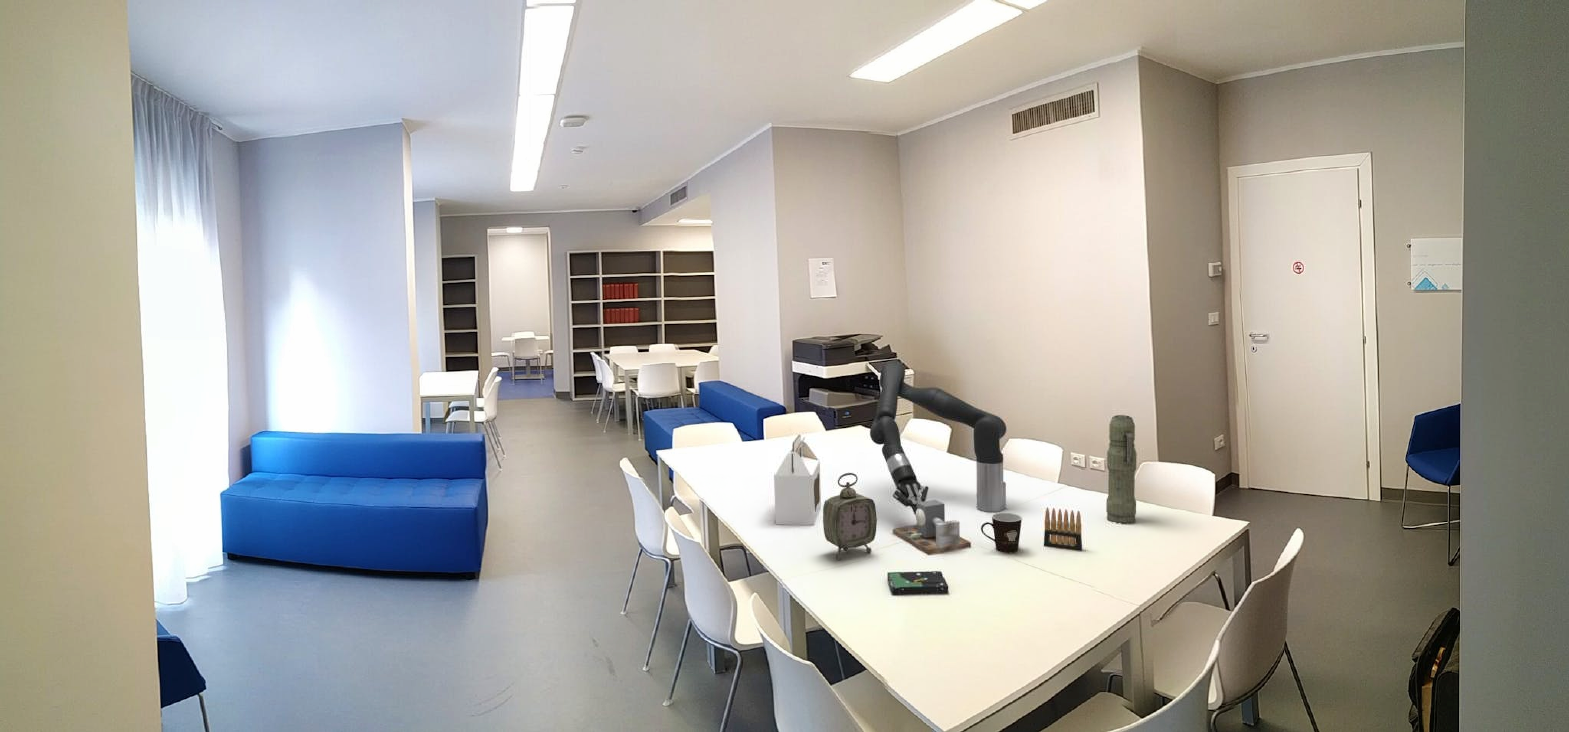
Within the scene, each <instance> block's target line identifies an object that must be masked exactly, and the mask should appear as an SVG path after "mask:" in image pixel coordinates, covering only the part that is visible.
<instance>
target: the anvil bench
mask: <svg viewBox="0 0 1569 732" xmlns="http://www.w3.org/2000/svg"><path fill="white" fill-rule="evenodd" d="M960 530H961V529H960V521H958V520H956V519H954V520H953V519H952V520H947V521H946V520H945V522H940V523H936V536H935V537H930V538H924V537H923V536H921V535H920V536H915V537H911V535H913V534H917V524H914V525H908V526H902V527H898V528H896V527H895V528H892V534H893V535H895V536H897V537H898V538H900V539H901V540H903V541H904V542H906V543H908V544H910V545H911V546H913V547H915V548H916V549H918V550H920V551H921V552H923V553H925V554H927V555H928V556H929V555H935V554H940V553H945V552H951V551H956V550H961V549H967V548H971V547H972V542H971V541H969V540H968V539H965V538H964V537H962V536H961V534H960Z"/></svg>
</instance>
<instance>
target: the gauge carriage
mask: <svg viewBox="0 0 1569 732" xmlns="http://www.w3.org/2000/svg"><path fill="white" fill-rule="evenodd" d="M945 511H946V509H945V503H944V502H942V501H940V500H937V499H933V500H932V499H930V500H925V501H924V502H917V510H916V515H915V520H916V525H917V534H913V535H911V537H915V536H920V535H921V536H923V537H924V538H930V537H935V536H936V523H940V522H946V520H945V518H946V517H945V515H946V513H945Z"/></svg>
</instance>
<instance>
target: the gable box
mask: <svg viewBox="0 0 1569 732" xmlns="http://www.w3.org/2000/svg"><path fill="white" fill-rule="evenodd" d="M805 438H806V437H803V439H802V436H801V434H798V435H797V437H796V438H795V439H794V441H793V442H792V445H791V446H792V448H791V450H790V451H789V452H788V453H787V454H786V456H785V457H784V459H783V460H782V462H781V464H780V465H779V467H778V468H777V471H776V472H775V474H774V475H773V481H774V483H773V486H774V487H773V488H774V509H775V514H774V515H775V516H774V517H775V525H782V526H784V525H785V526H814V525H815V523H816V520H817V518H818V515H819V513H820V511H821V508H822V496H821V495H822V492H821V463H820V460H819V459H818V457H817V456H816V455H815V453H814V452H813V450H812V449H811V448H810V446H809V445H808V444H807V443H806V442H805Z"/></svg>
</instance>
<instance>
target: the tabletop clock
mask: <svg viewBox="0 0 1569 732" xmlns="http://www.w3.org/2000/svg"><path fill="white" fill-rule="evenodd" d="M846 476H847V477H848V476H854V478H855V481H854V482H852V483H850V482H849V481H847V482H846V483H845V484H841V483H840V482H841V479H842V478H843V477H846ZM857 483H858V476H857V474H855V473H853V472H846V473H843V474H842V475H840V476H839V477H838V479H837V485H838V486H839V487H841V488H842V489H841V491H840V493H839V494H837V495H834V496H830V497H829V498H827V499H826V500H825V501H824V503H823V506H822V507H823V509H822V524H823V525H822V527H823V534H824V537H825V540H826V541H827V542H828V543H830V544H832V545H833V546H836V547H837V548H838V550H837V551H838V554H837V555H836V557H835V558H836V560H838V561H841V559H842V555H841V553H842V552H841V551H843V552H845V553H847V552H848V551H849V549H854V548H858V547H862V546H864V547H865V548H866V553H868V554H870V553H871V552H872V547H868V544H870V543H872V542H873V541H874V540H875V538H876V534H877V521H878V518H877V508H876V504H875V500H874V499H872V498H869V497H867V496H864V495H863V494H860V493H857V491H856V489H854V488H853V486H855V485H856V484H857Z"/></svg>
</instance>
